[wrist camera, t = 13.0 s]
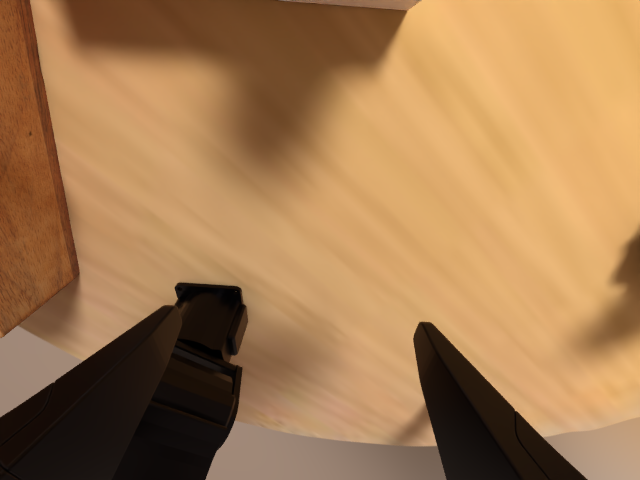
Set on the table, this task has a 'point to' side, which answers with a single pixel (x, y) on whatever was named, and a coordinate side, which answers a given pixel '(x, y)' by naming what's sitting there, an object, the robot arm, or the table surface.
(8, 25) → the wooden box
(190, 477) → the robot arm
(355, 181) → the table surface
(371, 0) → the white board
